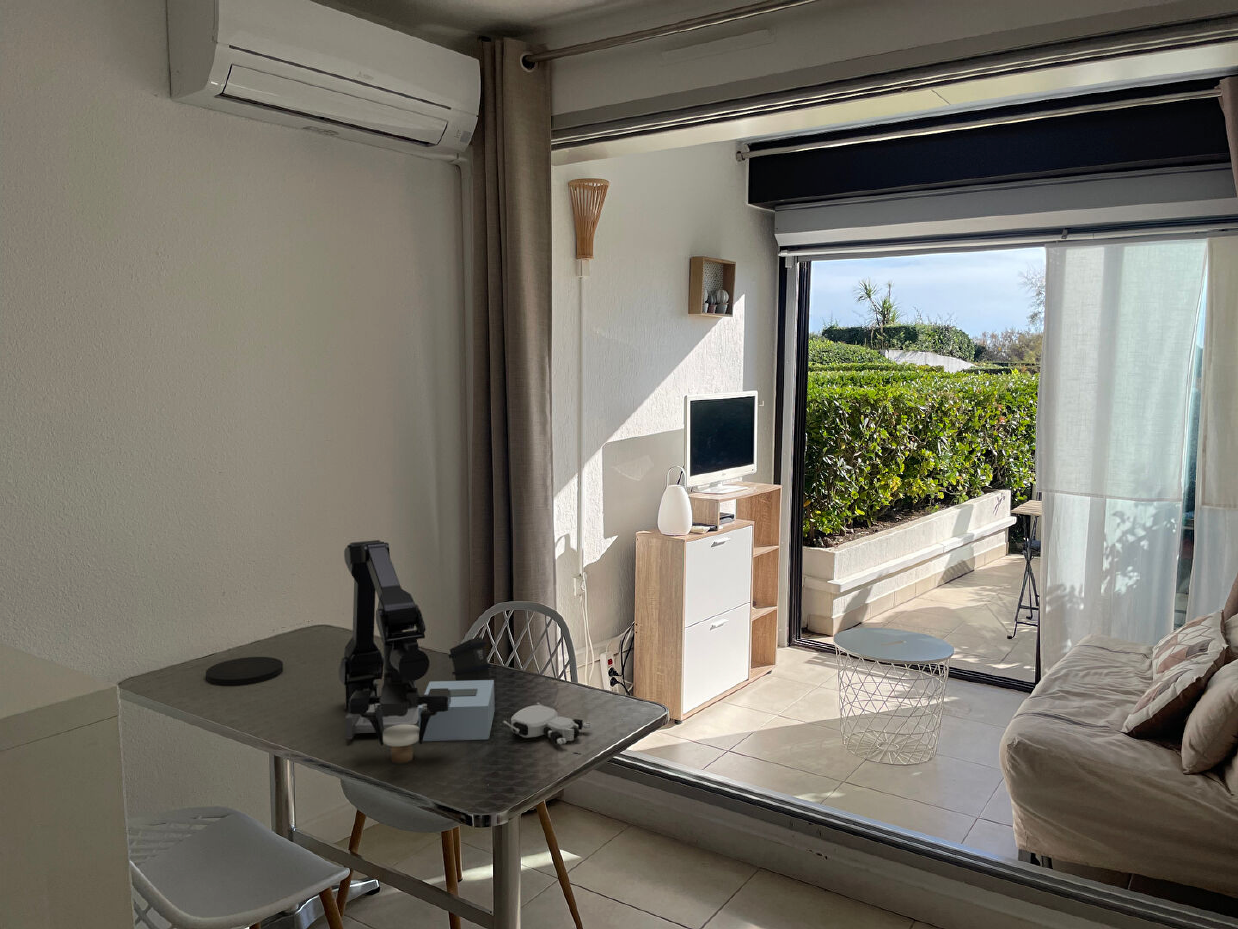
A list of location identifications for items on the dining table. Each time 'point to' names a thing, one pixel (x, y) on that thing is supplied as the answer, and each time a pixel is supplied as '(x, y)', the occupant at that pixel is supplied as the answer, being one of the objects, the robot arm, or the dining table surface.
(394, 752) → the tan short cylinder
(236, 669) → the wireless charger
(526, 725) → the robot toy
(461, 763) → the dining table surface
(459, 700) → the box
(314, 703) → the dining table surface
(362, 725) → the tray
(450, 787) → the dining table surface
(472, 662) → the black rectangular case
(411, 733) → the cream disc
